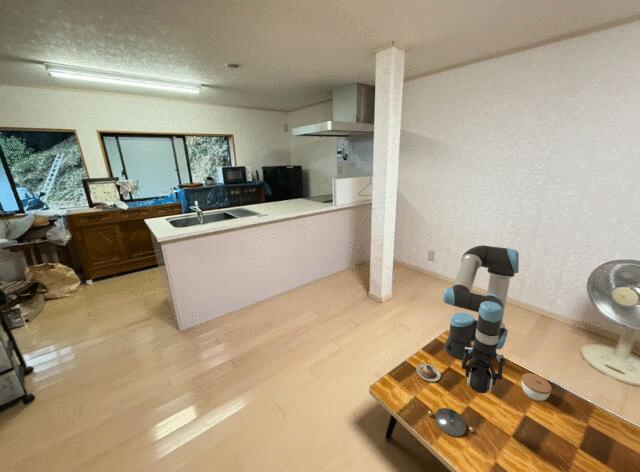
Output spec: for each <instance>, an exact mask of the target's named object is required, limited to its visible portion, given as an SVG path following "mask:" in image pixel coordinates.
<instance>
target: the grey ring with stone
mask: <svg viewBox="0 0 640 472" xmlns="http://www.w3.org/2000/svg"><path fill="white" fill-rule="evenodd" d="M415 370H416V373H417V374H418V376H419V377H420V379H422V380H425V381H427V382H430V383H431V382H434V383H435V382H437V381H439V380H440V379H441V377H442V375H441V372H440V370H439V369H438V368H437V367H436V366H434V365H433V364H430V363H429V364H428V363H420V364H418V365H417V366H416V369H415ZM435 375H436V376H435ZM434 376H435V377H434Z"/></svg>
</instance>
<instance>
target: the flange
mask: <svg viewBox="0 0 640 472" xmlns="http://www.w3.org/2000/svg"><path fill="white" fill-rule="evenodd" d="M427 415H428V417H430V418H433V417H434V419H435V420H434V421H435V424H436V425H437V427H438V428H439V430H441V431H442V432H443V433H444V434H446V435H447V436H450V437H455V438H456V437H458V438H461V437H463V436H464V435H465V434H466V432H467V422H466V420H465V418H463V416H462V415H461V414H460V413H458V412H457V411H455V410H454V409H451V408H448V407H442V408H439V409H437V411H436V412H435V414H434V411H433V410H431V409H429V410H427ZM468 432H469V433H470V434H475V427H474V426H472V425H469V427H468Z"/></svg>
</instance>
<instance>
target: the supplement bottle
mask: <svg viewBox="0 0 640 472" xmlns="http://www.w3.org/2000/svg"><path fill="white" fill-rule="evenodd" d="M491 374H492V373H491V370H490V367H489V364H488V362H486V361H484V360H479V361H478V362H476V364H475V365H474V366H473V368H472V369H471V380H470V388H471V389H472V390H473V391H474V392H476V393H479V394H487V393H488V389H489V383H490V378H491Z"/></svg>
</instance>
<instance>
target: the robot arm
mask: <svg viewBox="0 0 640 472" xmlns="http://www.w3.org/2000/svg"><path fill="white" fill-rule="evenodd" d="M519 255H520V254H519V252H518V250H516V249H511V248H507V247H499V246H490V245H477V246H474V247H472V248H469V249H468V250H467V251H465V252H464V254H463V255H462V256H461V259H460V263H461V265H460V267H459V270H458V272H457V274H456V277H455V279H454V281H453V285H452V287H449V286H448V287H446V288H445V289H444V292H443V297H442V298H443V302H444V303H445V304H447V305H449V306H450V305H451V306H452V307H457V308H459V309H464V310H468V311H471V312H475V313H478V316H477V320H476V319H475V317H474V315H472V314H470V313H467V312H456V313H453V314H452V315H451V318H450V321H449V323H450V324H449V332H448V333H449V334H448V337H447V338H446V341H444V350H445V351H446V353H447V354H448V355H450V356H451V357H453V358H455V359H458V360H462V361H461V369H462V370H465V376H464V377H465V378H467V382H466V383H467V386H470V380H471V370H472V368H473V366H474V365H475V364H476V362H478V361H479V360H484V361H485V362H487V363H488V364H489V371H490V372H491V378H490V383H489V389H488V392H489V393H491V392H492V388H493V386H496V384H497V383H496V382H497V380H499V381H500V380H503V364H504V363H505V356H504V355H503V354H498V353H497V350H501V349H503V348H504V345H505V343H506V339H507V336H508V333H509V329H508V328H506V324H505V323H504V322H503V321H504V316H505V315H504V314H505V309H506V303H507V298H508V291H509V287H510V281H511V280H510V279H512V278H514V277H515V274H518V273H519V270H520V269H519V265H520V264H519V259H520V256H519ZM480 268H485V269H487V270H486V271H487V273H488V274H489V280H488V286H487V292H486V293H487V294H486V295H483V294H479V293H473V292H472V288H473V286H474V283H475V280H476V277H477V274H478V273H477V272H478V270H479V269H480ZM472 342H474V343H473V344H472ZM494 359H496V361H497V373H496V370H495V367H494V364H493V360H494ZM468 360H469V362H468ZM467 362H468V363H467ZM470 387H471V386H470ZM488 392H487V393H488Z"/></svg>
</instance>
